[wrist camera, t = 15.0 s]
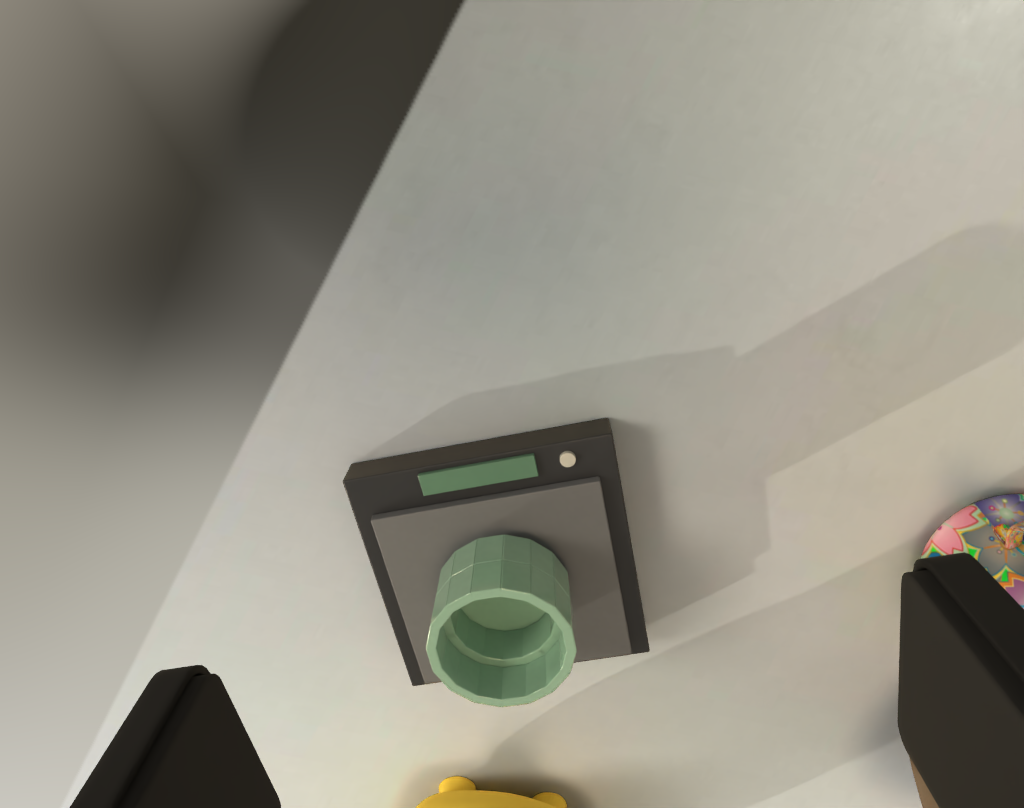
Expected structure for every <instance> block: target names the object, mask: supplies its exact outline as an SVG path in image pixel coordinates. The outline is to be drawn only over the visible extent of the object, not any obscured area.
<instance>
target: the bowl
mask: <svg viewBox="0 0 1024 808" xmlns="http://www.w3.org/2000/svg"><path fill="white" fill-rule="evenodd" d="M426 651H427V654H428V658H429V661H430V664H431V667H432V670H433V672H434V673H435V674H436V675H437V676H438V678H439V679H440V680H441V681H442V682H443V683H444V684H445V685H446V686H447V688H448V689H450V690H451V691H452V692H454V693H456V694H458V695H460V696H462V697H464V698H466V699H468V700H470V701H472V702H474V703H479V704H485V705H491V706H497V707H501V706H502V707H507V706H514V705H522V704H528V703H532V702H534V701H536V700H538V699H540V698H542V697H544V696H546V695H548V694H550V693H552V692H553V691H555V690H556V688H557V687H558V686H559V685H560V684H561V683H562V682H563V681H564V680H565V679H566V678H567V676H568V675H569V674H570V672H571V669H572V666H573V663H574V659H575V656H576V653H577V646H576V634H575V623H574V611H573V600H572V590H571V585H570V580H569V575H568V572H567V570H566V569H565V568H564V566H563V565H562V564H561V562H560V561H559V560H558V558H557V557H556V556H555V554H554V553H553V552H552V551H550V550H548V549H547V548H545V547H543V546H541V545H540V544H538V543H536V542H535V541H533V540H531V539H527V538H522V537H517V536H511V535H506V534H504V535H496V536H490V537H483V538H478V539H476V540H474V541H472V542H470V543H469V544H467V545H465V546H463V547H462V548H460V549H458V550H456V551H455V552H454V553H453V554H452V556H451V557H450V558H449V560H448V561H447V562H446V563H445V565H444V566H443V567H442V569H441V572H440V576H439V582H438V587H437V592H436V597H435V602H434V607H433V612H432V618H431V623H430V628H429V633H428V638H427V644H426Z"/></svg>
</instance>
